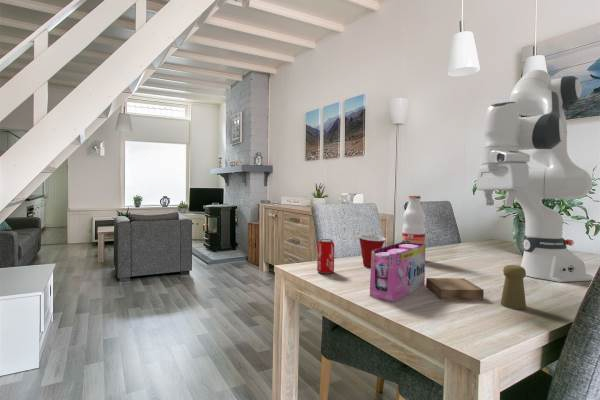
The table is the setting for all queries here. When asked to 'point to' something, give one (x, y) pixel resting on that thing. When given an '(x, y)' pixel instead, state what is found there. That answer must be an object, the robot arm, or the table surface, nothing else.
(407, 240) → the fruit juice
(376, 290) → the gum box
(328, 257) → the soda can
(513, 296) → the cork
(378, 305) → the table surface
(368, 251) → the plastic cup
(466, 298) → the walnut block
